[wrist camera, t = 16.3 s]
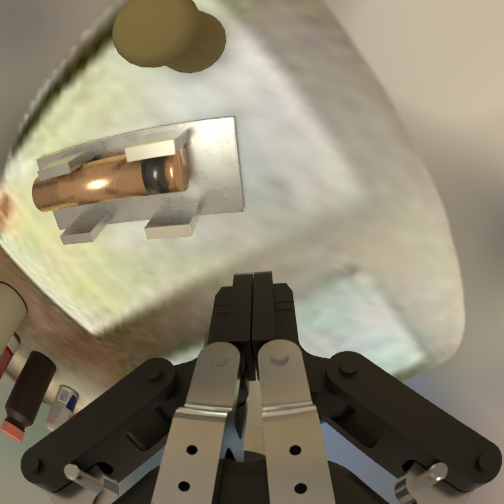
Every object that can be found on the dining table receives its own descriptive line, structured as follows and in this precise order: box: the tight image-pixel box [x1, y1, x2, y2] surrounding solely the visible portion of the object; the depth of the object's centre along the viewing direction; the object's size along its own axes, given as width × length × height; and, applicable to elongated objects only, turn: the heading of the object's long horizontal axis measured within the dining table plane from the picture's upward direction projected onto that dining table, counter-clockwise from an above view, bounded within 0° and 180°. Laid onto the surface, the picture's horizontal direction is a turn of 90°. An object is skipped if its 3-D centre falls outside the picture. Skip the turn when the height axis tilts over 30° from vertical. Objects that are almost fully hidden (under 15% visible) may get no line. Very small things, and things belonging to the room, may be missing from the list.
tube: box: [32, 146, 190, 212], centre depth 25 cm, size 16×4×4 cm, turn 95°
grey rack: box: [37, 116, 244, 245], centre depth 25 cm, size 9×22×6 cm, turn 95°
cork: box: [112, 0, 226, 73], centre depth 16 cm, size 6×6×11 cm
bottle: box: [1, 352, 56, 442], centre depth 41 cm, size 7×7×20 cm
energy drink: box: [45, 385, 79, 432], centre depth 51 cm, size 5×5×12 cm
